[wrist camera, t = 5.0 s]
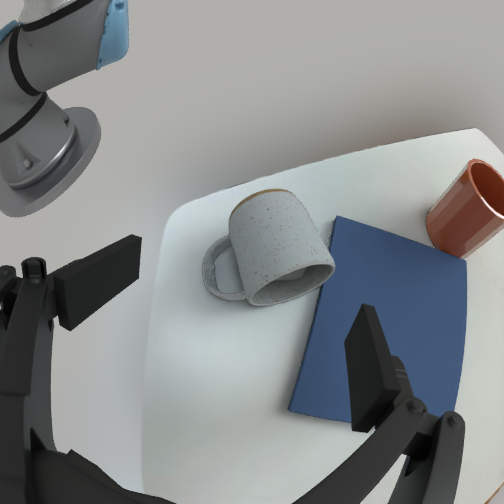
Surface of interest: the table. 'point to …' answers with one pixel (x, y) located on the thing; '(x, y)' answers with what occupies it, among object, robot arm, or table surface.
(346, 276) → the blue mat
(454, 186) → the clay cup
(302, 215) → the ceramic mug
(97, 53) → the robot arm
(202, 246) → the table surface
